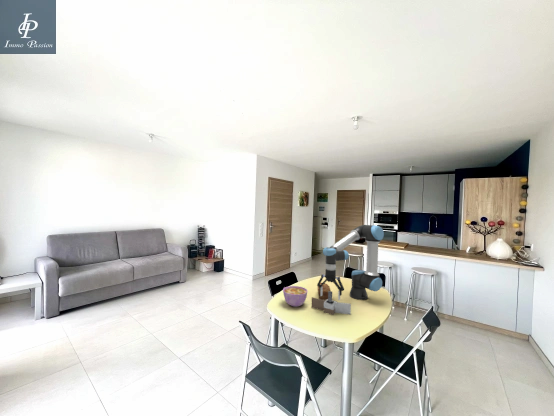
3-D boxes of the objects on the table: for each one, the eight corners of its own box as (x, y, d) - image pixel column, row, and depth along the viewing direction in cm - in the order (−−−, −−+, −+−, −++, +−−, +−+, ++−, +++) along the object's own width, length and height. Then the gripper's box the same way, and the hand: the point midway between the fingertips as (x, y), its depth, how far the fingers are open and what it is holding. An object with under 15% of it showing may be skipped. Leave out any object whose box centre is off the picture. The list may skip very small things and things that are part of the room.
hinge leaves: (314, 304, 174) (314, 295, 174) (351, 313, 159) (351, 303, 159) (309, 308, 166) (310, 299, 166) (347, 319, 151) (348, 308, 151)
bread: (317, 292, 202) (317, 281, 202) (328, 293, 200) (328, 282, 200) (318, 300, 183) (318, 288, 183) (331, 301, 182) (331, 289, 182)
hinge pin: (328, 310, 163) (328, 290, 164) (332, 311, 162) (332, 291, 162) (327, 312, 161) (327, 292, 161) (331, 313, 159) (331, 292, 160)
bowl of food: (290, 297, 187) (291, 284, 188) (311, 303, 176) (311, 289, 176) (277, 305, 171) (278, 290, 171) (299, 312, 160) (300, 296, 160)
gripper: (313, 267, 165) (312, 295, 165) (346, 273, 152) (345, 303, 152) (316, 265, 172) (316, 292, 171) (348, 270, 159) (348, 299, 158)
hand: (330, 297), depth 162 cm, fingers open, 13 cm apart
